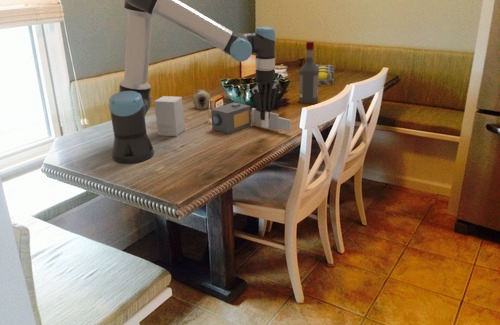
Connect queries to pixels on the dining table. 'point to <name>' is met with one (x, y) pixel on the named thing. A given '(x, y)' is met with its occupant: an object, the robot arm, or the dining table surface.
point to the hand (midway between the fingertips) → (264, 126)
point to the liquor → (309, 78)
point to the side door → (272, 121)
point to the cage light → (326, 74)
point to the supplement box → (169, 115)
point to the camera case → (231, 117)
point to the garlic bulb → (201, 99)
